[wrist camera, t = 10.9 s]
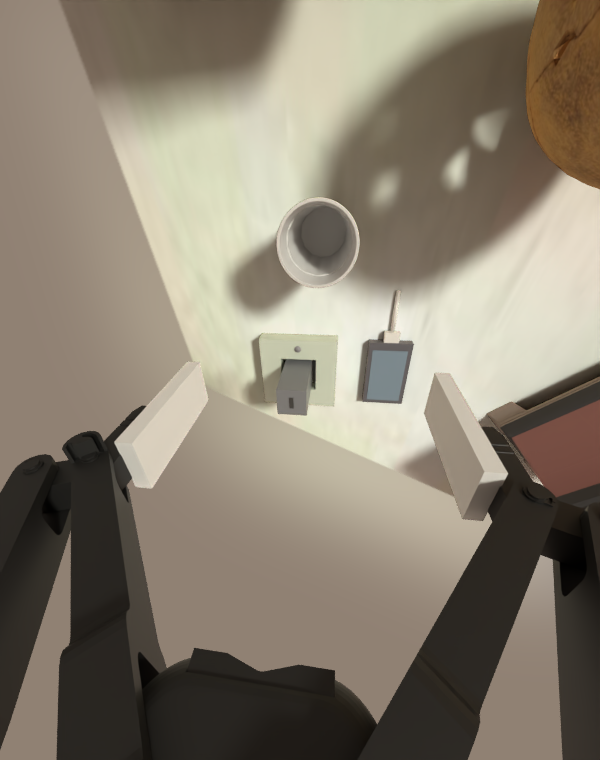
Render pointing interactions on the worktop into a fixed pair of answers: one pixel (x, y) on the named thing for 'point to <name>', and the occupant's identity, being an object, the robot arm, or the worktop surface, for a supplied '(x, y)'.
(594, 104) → the bowl
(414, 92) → the worktop surface
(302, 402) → the block
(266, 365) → the outlet plate
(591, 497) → the toaster
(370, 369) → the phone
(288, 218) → the cup
